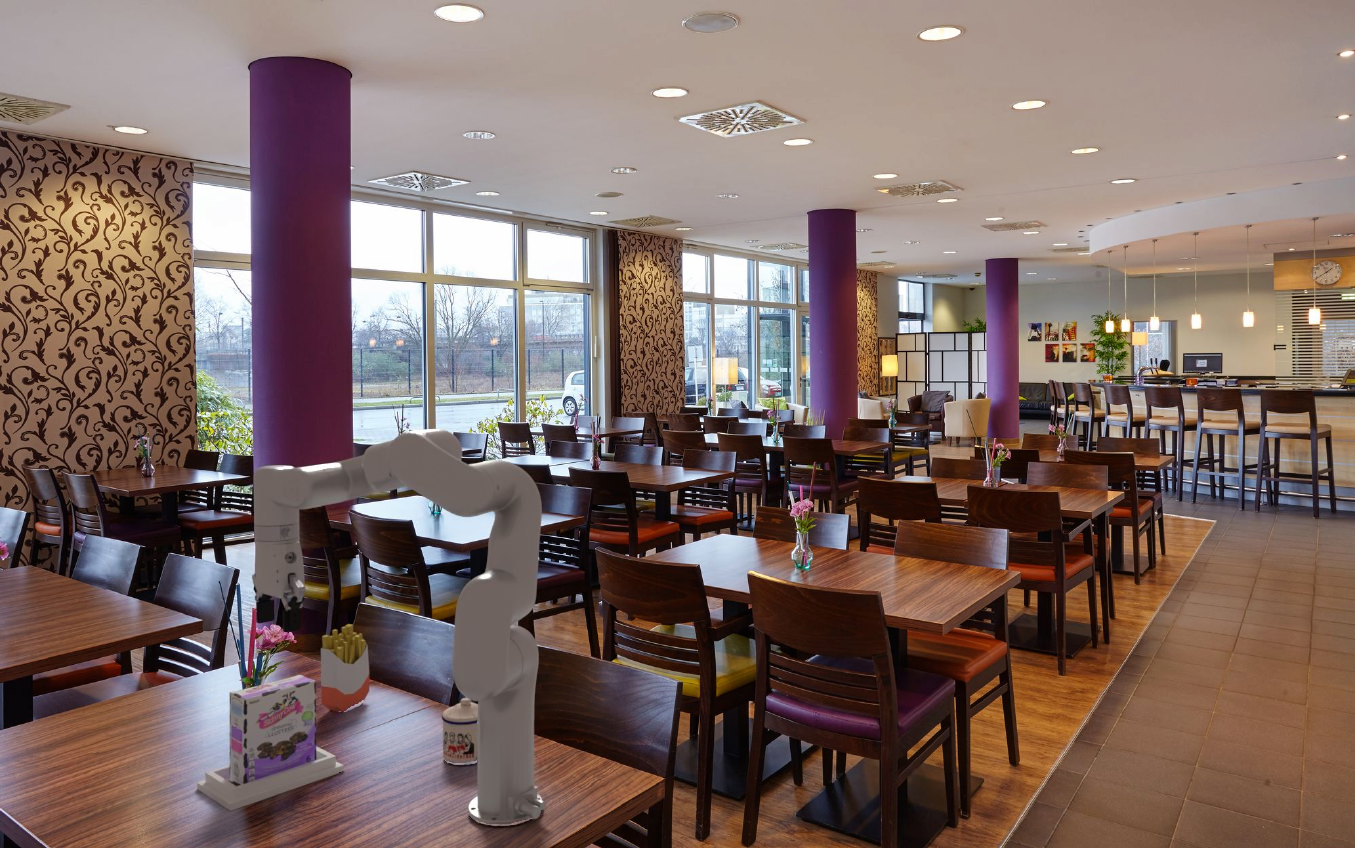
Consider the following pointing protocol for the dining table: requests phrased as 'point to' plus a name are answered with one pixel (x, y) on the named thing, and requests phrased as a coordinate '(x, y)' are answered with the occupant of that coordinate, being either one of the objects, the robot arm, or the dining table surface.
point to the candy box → (272, 728)
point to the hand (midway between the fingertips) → (278, 626)
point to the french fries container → (344, 669)
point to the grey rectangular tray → (266, 781)
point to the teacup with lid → (460, 732)
